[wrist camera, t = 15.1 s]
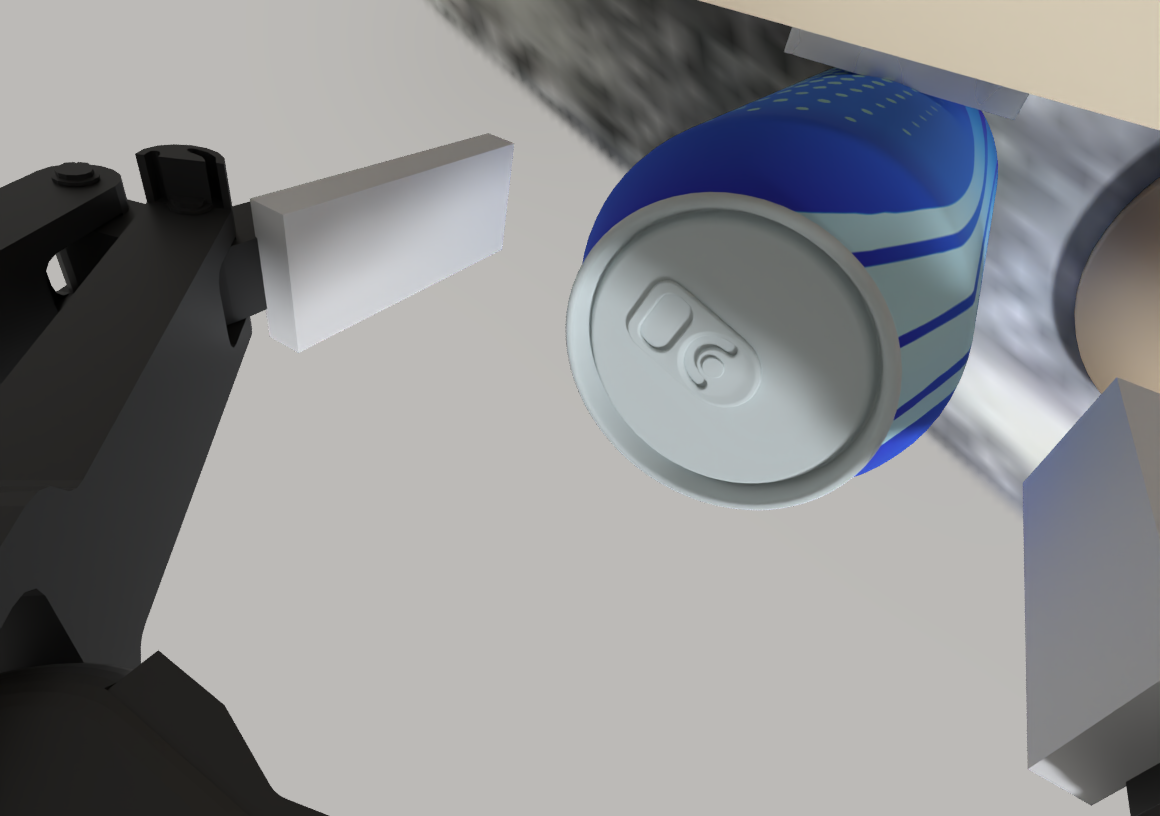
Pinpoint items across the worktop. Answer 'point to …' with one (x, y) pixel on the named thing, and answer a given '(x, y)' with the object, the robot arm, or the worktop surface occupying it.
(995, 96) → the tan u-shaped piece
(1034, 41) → the wooden open frame
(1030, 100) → the worktop surface
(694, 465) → the beer can
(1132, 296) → the coaster
